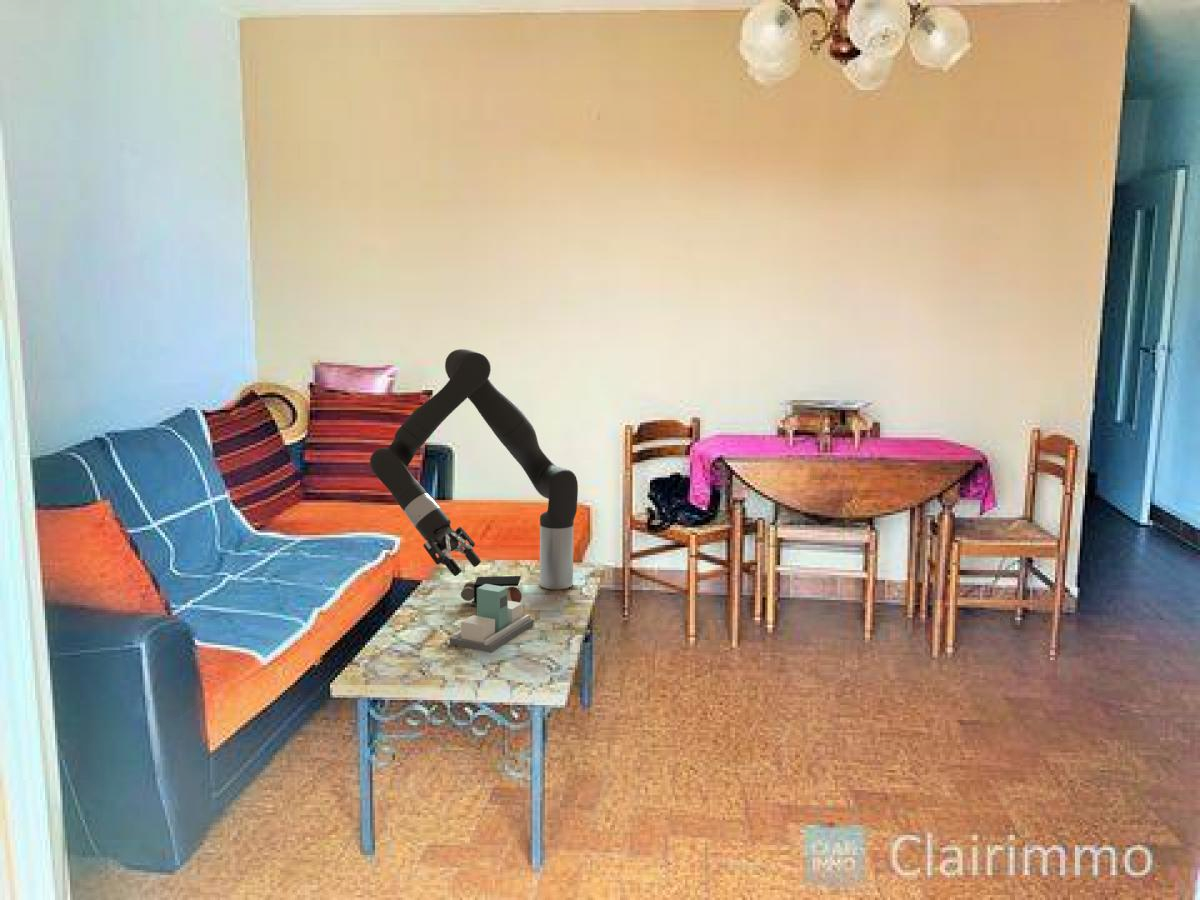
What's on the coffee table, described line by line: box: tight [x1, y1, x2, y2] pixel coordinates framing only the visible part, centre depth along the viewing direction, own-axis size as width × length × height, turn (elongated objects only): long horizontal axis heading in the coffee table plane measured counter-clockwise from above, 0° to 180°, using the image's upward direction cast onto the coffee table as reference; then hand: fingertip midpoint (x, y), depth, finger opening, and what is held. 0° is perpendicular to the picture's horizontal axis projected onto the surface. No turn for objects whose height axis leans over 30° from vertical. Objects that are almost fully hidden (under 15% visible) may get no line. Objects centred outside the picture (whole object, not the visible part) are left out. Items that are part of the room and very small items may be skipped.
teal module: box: [476, 584, 509, 633], centre depth 224 cm, size 4×6×10 cm, turn 66°
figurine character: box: [460, 575, 523, 607], centre depth 246 cm, size 7×8×15 cm
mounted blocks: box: [460, 601, 524, 643], centre depth 225 cm, size 18×6×4 cm, turn 155°
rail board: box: [449, 613, 534, 653], centre depth 225 cm, size 20×11×2 cm, turn 155°
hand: (468, 569), depth 226 cm, fingers open, 8 cm apart
